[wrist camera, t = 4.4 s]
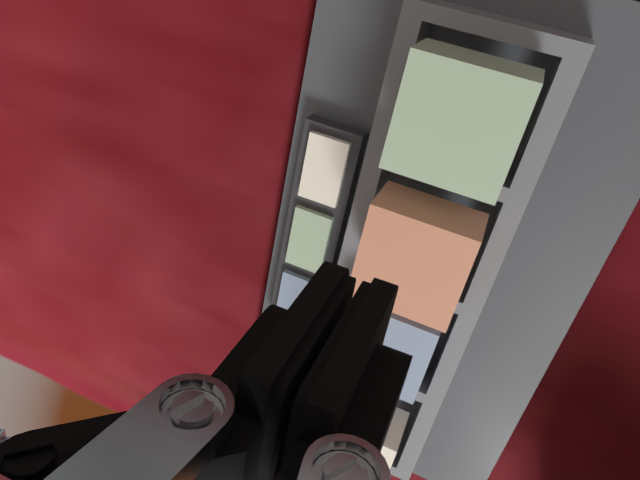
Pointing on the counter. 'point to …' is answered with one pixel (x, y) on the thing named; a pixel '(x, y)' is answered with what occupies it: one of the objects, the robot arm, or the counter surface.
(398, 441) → the cream key
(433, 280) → the terracotta key
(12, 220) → the counter surface
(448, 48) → the sage key
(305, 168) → the keypad board
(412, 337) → the slate key
